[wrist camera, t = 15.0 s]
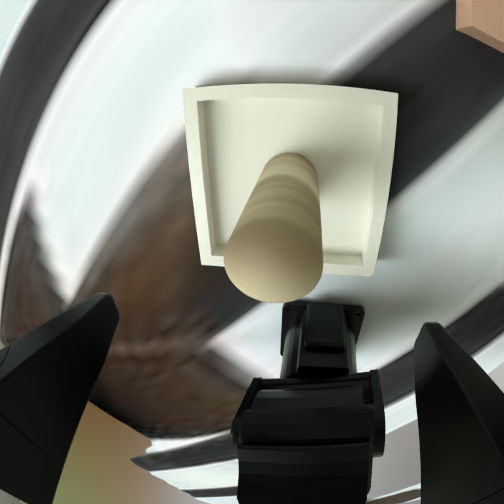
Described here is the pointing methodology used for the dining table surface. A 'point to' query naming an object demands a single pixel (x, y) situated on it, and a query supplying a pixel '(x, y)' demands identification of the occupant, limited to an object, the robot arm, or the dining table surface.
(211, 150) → the tray
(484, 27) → the peach rectangular block
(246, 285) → the dowel
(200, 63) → the dining table surface
